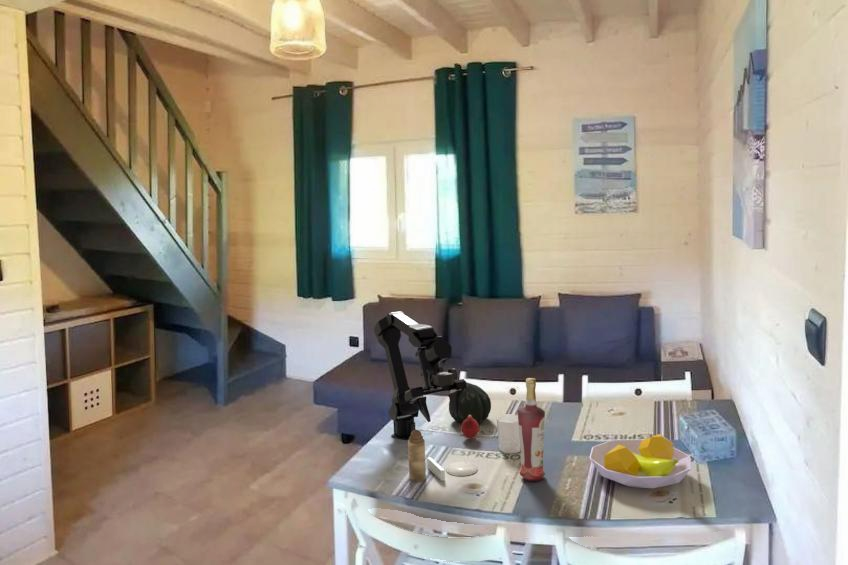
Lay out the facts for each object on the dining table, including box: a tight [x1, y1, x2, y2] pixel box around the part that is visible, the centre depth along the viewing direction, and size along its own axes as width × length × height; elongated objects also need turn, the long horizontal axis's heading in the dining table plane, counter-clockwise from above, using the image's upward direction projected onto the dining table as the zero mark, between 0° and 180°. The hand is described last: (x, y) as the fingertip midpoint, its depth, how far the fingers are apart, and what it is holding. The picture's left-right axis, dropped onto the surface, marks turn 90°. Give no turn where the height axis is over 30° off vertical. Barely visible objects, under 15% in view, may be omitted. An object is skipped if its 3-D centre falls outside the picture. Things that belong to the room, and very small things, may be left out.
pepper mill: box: [407, 429, 427, 483], centre depth 181 cm, size 5×5×14 cm
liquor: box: [517, 377, 546, 482], centre depth 178 cm, size 7×7×28 cm
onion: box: [460, 415, 480, 440], centre depth 210 cm, size 6×6×8 cm
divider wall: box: [427, 457, 446, 482], centre depth 185 cm, size 10×1×3 cm, turn 22°
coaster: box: [445, 461, 478, 477], centre depth 187 cm, size 9×9×1 cm
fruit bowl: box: [589, 433, 692, 489], centre depth 176 cm, size 28×27×11 cm
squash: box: [448, 382, 492, 425], centre depth 227 cm, size 14×15×15 cm
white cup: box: [496, 413, 520, 454], centre depth 200 cm, size 8×8×10 cm
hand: (443, 418), depth 191 cm, fingers open, 9 cm apart
